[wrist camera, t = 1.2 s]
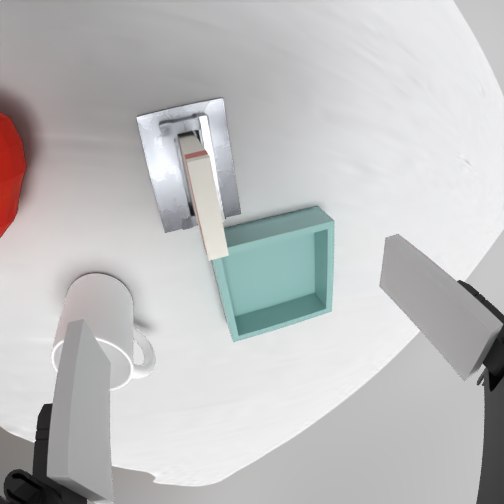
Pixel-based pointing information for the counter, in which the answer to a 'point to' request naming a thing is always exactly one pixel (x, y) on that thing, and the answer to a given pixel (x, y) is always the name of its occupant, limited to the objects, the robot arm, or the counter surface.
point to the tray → (276, 272)
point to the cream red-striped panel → (203, 194)
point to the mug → (106, 326)
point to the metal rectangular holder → (171, 165)
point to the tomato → (10, 171)
